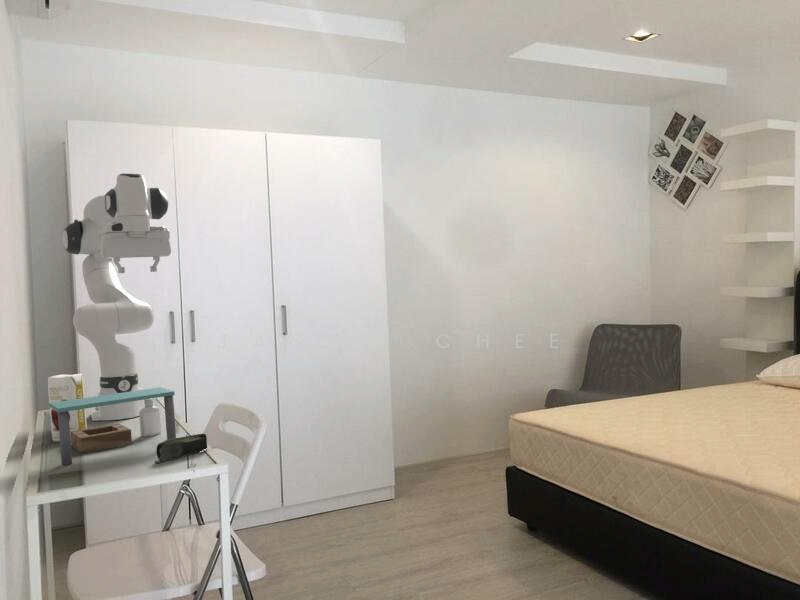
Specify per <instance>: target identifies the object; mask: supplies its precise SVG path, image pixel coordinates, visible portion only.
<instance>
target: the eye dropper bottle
mask: <svg viewBox="0 0 800 600" xmlns="http://www.w3.org/2000/svg"><path fill="white" fill-rule="evenodd" d="M144 405H145V407H144V408H142V409H141V410H140V411H139V416H138V418H139V431H140V436H141V437H145V438H147V437H152V436H157V435H160V434H161V433H162V423H161V413H160V408H159V407H158V406H155V405H154V398H151V399H145V400H144Z"/></svg>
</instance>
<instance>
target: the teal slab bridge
mask: <svg viewBox="0 0 800 600" xmlns="http://www.w3.org/2000/svg"><path fill="white" fill-rule="evenodd" d="M174 396H175V391H174V390H171V389H168V388H165V387H162V386H161V387H160V386H159V387H151V388H146V389H143V390H137V391H130V392H123V393H116V394H109V395H102V396H98V395H96V396H90V397H89V396H88V397H85V398H81V399H74V400H67V401H60V402H53V403H49V402H48V405H49V407H48V408H49V409H50V408H52V409H53V410H55V411H57V412H58V423H59V436H60V442H59V446H60V447H59V448H60V460H61V466H63V465H65V466H69V465H70V466H71V465H72V464H73V456H72V455H73V454H72V445H71V440H70V427H69V414H68V411H73V410H79V409H91V408H96V407H99V406H105V405H112V404H119V403H125V402H132V401H138V400H145V399H151V398H153V399H158V398H163V401H164V402H163V403H164V416H165V430H166V431H165V432H166V440H169V439H174V438H177V430H176V420H175V419H176V418H175V404H174V403H175V402H174Z"/></svg>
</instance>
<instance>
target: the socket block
mask: <svg viewBox="0 0 800 600" xmlns="http://www.w3.org/2000/svg"><path fill="white" fill-rule="evenodd" d="M70 432H71V447H73V448H74V449H76V450H77V451H78V452H80V453H81V454H86V453H90V452H96V451H97V452H98V451H102V450H107V449H111V448H116V447H117V448H118V447H122V446H123V447H124V446H128V445H133V439H132V438H133V437H132V429H130V428H129V427H126V426H125V425H123V424H121V423H118V422H117V423H114V424H113V423H112V424H106V425H100V426H94V427H87V429H81V430H75V431H70Z"/></svg>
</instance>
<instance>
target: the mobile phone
mask: <svg viewBox="0 0 800 600" xmlns="http://www.w3.org/2000/svg"><path fill="white" fill-rule="evenodd" d="M207 441H208V440H207V434H205V433H197V434H191V435H187V436H182V437H181V436H180V437H176V438H174V439H169V440H167V439H166V440H164V441H162V442H159V443H158V444H157V446H156V456H157V457H156V458H158V460H155V461H154V464H155V465H157V464H160V463H164V462H168V461H172V460H176V459H179V458H184V457H189V456H193V455H197V454H200V453H199V452H200V451H202V450H203V449H206V448H207V449H208V442H207ZM196 453H197V454H196Z"/></svg>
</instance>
